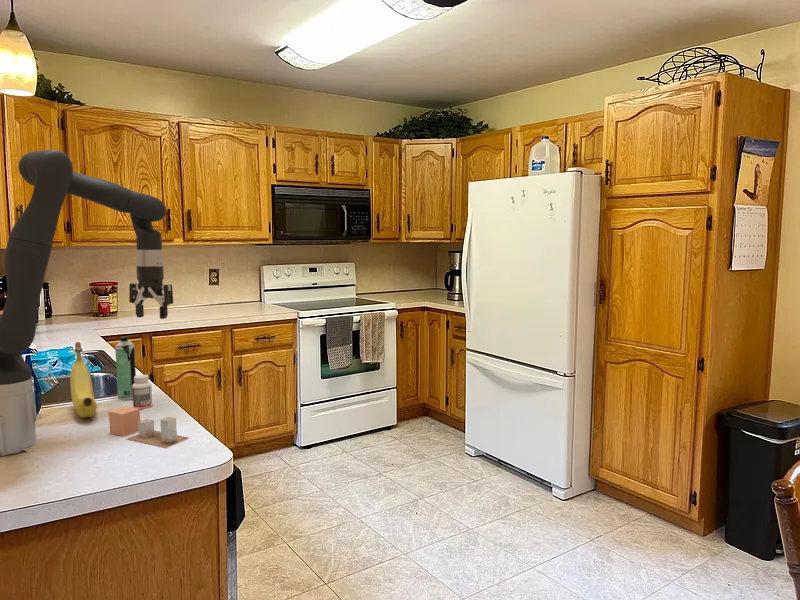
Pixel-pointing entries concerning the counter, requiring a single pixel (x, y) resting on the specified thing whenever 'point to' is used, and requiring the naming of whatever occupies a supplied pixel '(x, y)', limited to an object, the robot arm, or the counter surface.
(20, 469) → the counter surface
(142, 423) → the stub post
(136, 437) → the walnut board
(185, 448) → the counter surface
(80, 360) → the banana
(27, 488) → the counter surface
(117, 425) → the salmon pink cube
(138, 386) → the pill bottle
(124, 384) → the spray can
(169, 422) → the tall post
